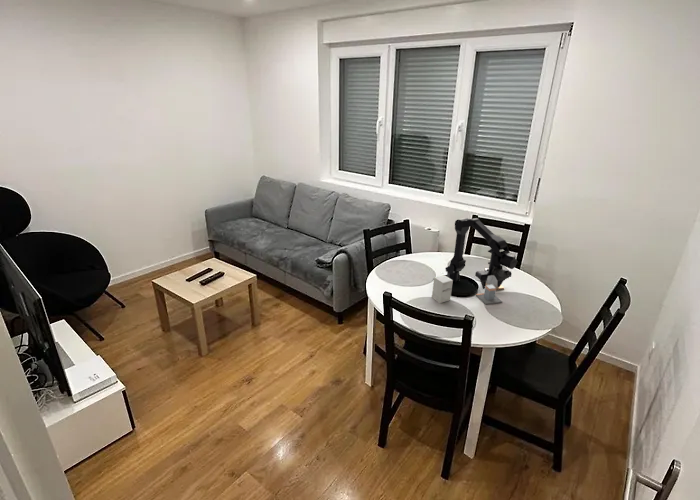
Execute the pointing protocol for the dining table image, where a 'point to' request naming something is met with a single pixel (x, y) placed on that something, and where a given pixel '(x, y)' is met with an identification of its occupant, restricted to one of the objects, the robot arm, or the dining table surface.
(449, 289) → the supplement box
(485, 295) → the cartridge
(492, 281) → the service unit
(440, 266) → the dining table surface
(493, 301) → the pad
